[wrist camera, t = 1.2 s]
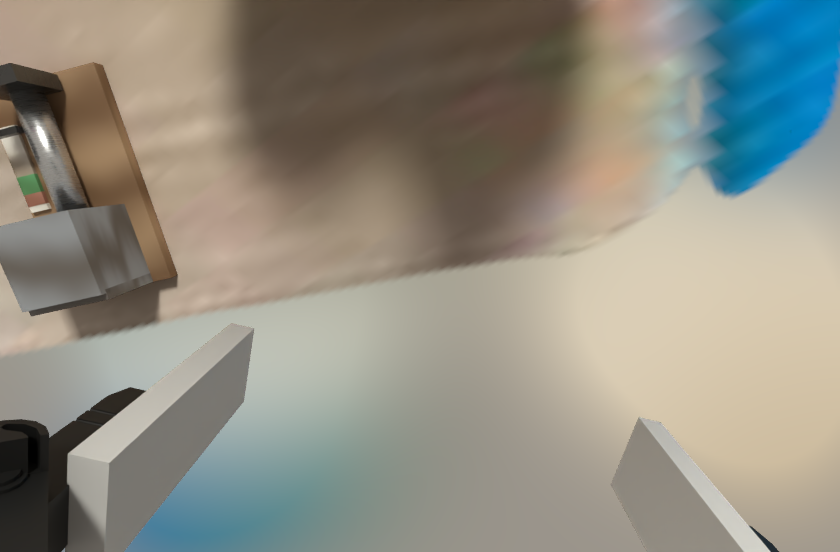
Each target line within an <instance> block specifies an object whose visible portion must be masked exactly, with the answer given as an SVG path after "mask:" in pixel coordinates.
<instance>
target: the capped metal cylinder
mask: <svg viewBox="0 0 840 552" xmlns="http://www.w3.org/2000/svg"><path fill="white" fill-rule="evenodd" d="M60 91H63V88H62V86H61V83H60V80H59V78H58V75H56V74H52V73H48V72H44V71H40V70H36V69H32V68H28V67H24V66H20V65H16V64H13V63H8V64H5V65H1V66H0V100H6V101H12V103H13V106H14V108H15V111H16V113H17V116H18V118H19V120H20V123H21V125H22V126H12V127H8V128H4V129H0V139H3V138H7V137H11V136H15V135H19V134H23V133H25V135H26V138H27V140H28V143H29V145H30V147H31V150H32V152H33V155H34V157H35V160H36V162H37V165H38V167H39V170H40V172H41V174H42V177H43V179H44V182H45V184H46V187H47V189H48V192H49V194H50V197H51V199H52V201H53V204H54V206H55V209H56V211H57V212H61V211H66V210H72V209H82V208H90V207H89V205H88V202H87V199H86V197H85V194H84V192H83V189H82V187H81V184H80V181H79V179H78V176H77V174H76V171H75V169H74V166H73V163H72V161H71V158H70V156H69V153H68V151H67V148H66V146H65V143H64V140H63V138H62V135H61V133H60V130H59V128H58V125H57V122H56V120H55V117H54V115H53V112H52V110H51V107H50V105H49V102H48V99H47V97H46V95H48V94H52V93H56V92H60Z"/></svg>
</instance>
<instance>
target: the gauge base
mask: <svg viewBox="0 0 840 552" xmlns="http://www.w3.org/2000/svg"><path fill="white" fill-rule="evenodd" d="M52 74H56V75H58V78H59V80H60V83H61V86H62V88H63V91H60V92H56V93H52V94H48V95H46V97H47V99H48V102H49V105H50V107H51V110H52V112H53V115H54V117H55V120H56V122H57V125H58V128H59V130H60V133H61V135H62V138H63V140H64V143H65V146H66V148H67V151H68V153H69V156H70V158H71V161H72V163H73V166H74V169H75V171H76V174H77V176H78V179H79V181H80V184H81V187H82V189H83V192H84V194H85V197H86V199H87V202H88V205H89V207H90V208H82V209H72V210H66V211H61V212H57V211H56V209H55V206H54V204H53V201H52V199H51V197H50V194H49V192H48V189H47V187H46V184H45V182H44V179H43V177H42V174H41V172H40V170H39V167H38V165H37V162H36V160H35V157H34V155H33V152H32V150H31V147H30V145H29V143H28V140H27V138H26V135H25V133H23V134H19V135H15V136H11V137H7V138H3V139H1V142H2V144H3V147H4V149H5V151H6V154H7V156H8V158H9V161H10V163H11V166H12V168H13V170H14V173H15V175H16V177H17V180H18V183H19V185H20V187H21V190H22V192H23V195H24V197H25V199H26V202H27V204H28V206H29V208H30V211H31V213H32V215H33V218H32V219H28V220H24V221H20V222H15V223H11V224H7V225H3V226H0V263H1V265H2V268H3V270H4V272H5V274H6V277H7V279H8V281H9V283H10V285H11V288H12V290H13V292H14V294H15V297H16V299H17V301H18V303H19V306H20V308H21V310H22V312H27V311H29V313H30V315H31V316H35V315H40V314H44V313H49V312H53V311H58V310H62V309H67V308H71V307H76V306H81V305H85V304H90V303H94V302H99V301H103V300H108V299H111V298H113V297H116V296H118V295H121V294H123V293H126V292H129V291H131V290H134V289H136V288H139V287H141V286H144V285H146V284H149V283H151V282H154V281H159V280H163V279H168V278H172V277H174V276H177V272H176V269H175V267H174V264H173V261H172V258H171V255H170V253H169V250H168V247H167V244H166V241H165V239H164V236H163V233H162V230H161V227H160V225H159V222H158V219H157V216H156V213H155V211H154V208H153V205H152V202H151V200H150V197H149V194H148V191H147V188H146V186H145V183H144V180H143V177H142V174H141V172H140V169H139V166H138V163H137V160H136V158H135V155H134V152H133V149H132V146H131V144H130V141H129V138H128V135H127V132H126V130H125V127H124V124H123V121H122V118H121V116H120V113H119V110H118V107H117V104H116V102H115V99H114V96H113V93H112V91H111V88H110V85H109V82H108V79H107V77H106V74H105V71H104V68H103V65H100V64H97V63H94V62H93V63H89V64H85V65H82V66H78V67H74V68H71V69H67V70H63V71H59V72H56V73H52ZM12 126H22V125H21V123H20V120H19V118H18V116H17V113H16V111H15V108H14V106H13V103H12V101H6V100H0V129H4V128H8V127H12Z"/></svg>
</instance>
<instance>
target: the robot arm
mask: <svg viewBox="0 0 840 552" xmlns="http://www.w3.org/2000/svg"><path fill="white" fill-rule="evenodd" d="M253 333H254V328H250V327H245V326H241V325H237V324H232V323H231V324H230V325H229V326H227V327H226V328H225V329H223V330H222V331H221V332H220V333H218V334H217V335H216V336H215V337H213V338H212V339H211V340H210V341H208V342H207V343H206V344H205V345H203V346H202V347H201V348H200V349H198V350H197V351H196V352H195V353H193V354H192V355H191V356H190V357H188V358H187V359H186V360H185V361H183V362H182V363H181V364H180V365H178V366H177V367H176V368H175V369H173V370H172V371H171V372H170V373H168V374H167V375H166V376H165V377H163V378H162V379H161V380H160V381H158V382H157V383H156V384H155V385H153V386H152V387H151V388H150V389H148V390H147V391H144V390H140V389H135V388H131V387H130V388H127V389H124V390H122V391H119V392H117V393H114V394H111V395H109V396H107V397H106V398H104V399H103V400H101V401H100V402H99V403H97V404H96V405H94V406H93V407H92V408H91V409H90V411H86V412H85V413H84V414H82V415H80V416H79V417H78V418H77V420H76V421H72V422H71V423H70V424H68V425H67V426H65V427H64V428H62V429H61V430H60V431H58V432H57V433H56V434H54V435H53V436H51V437H50V438H49V433H48V430H47V428H46V427H45V426H44V425H42V424H40V423H38V422H36V421H29V420H22V419H20V420H4V421H0V552H61V551H62V550H63V549H64V548H65V552H124V551H125V550H126V548H127V547H128V546H129V545H130V543H131V542H132V541H133V539H134V538H135V537H136V536H137V534H138V533H139V532H140V531H141V529H142V528H143V527H144V526H145V524H146V523H147V522H148V521H149V519H150V518H151V517H152V516H153V514H154V513H155V512H156V511H157V509H158V508H159V507H160V506H161V504H162V503H163V502H164V501H165V499H166V498H167V497H168V496H169V494H170V493H171V492H172V491H173V489H174V488H175V487H176V486H177V484H178V483H179V482H180V481H181V479H182V478H183V477H184V476H185V474H186V473H187V472H188V471H189V469H190V468H191V467H192V465H193V464H194V463H195V462H196V461H197V459H198V458H199V457H200V455H201V454H202V453H203V452H204V450H205V449H206V448H207V447H208V445H209V444H210V443H211V442H212V440H213V439H214V438H215V437H216V435H217V434H218V433H219V432H220V430H221V429H222V428H223V427H224V425H225V424H226V423H227V422H228V420H229V419H230V418H231V417H232V415H233V414H234V413H235V412H236V410H237V409H238V408H239V407H240V405H241V404H242V403H243V401H244V396H245V389H246V382H247V375H248V368H249V361H250V354H251V347H252V339H253ZM611 486H612V487H613V489H614V491H615V493H616V495H617V497H618V499H619V501H620V502H621V504H622V506H623V508H624V510H625V512H626V514H627V515H628V517H629V519H630V521H631V523H632V525H633V527H634V529H635V531H636V532H637V534H638V536H639V538H640V540H641V542H642V544H643V545H644V547H645V549H646V551H647V552H779V551H778V550H777V549H776V548H775V547H774V545H773V544H772V543H770V542H769V541H768V540H767V539H766V538H764V537H763V536H762V535H761V534H760V533H758V532H757V531H756V530H755V529H754V528H752V527H751V526H748V525H747V523H746V522H745V521H744V520H743V519H742V517H741V516H740V515H739V514H738V513H737V512H736V510H735V509H734V508H733V507H732V506H731V504H730V503H729V502H728V501H727V500H726V499H725V498H724V496H723V495H722V494H721V493H720V492H719V490H718V489H717V488H716V487H715V486H714V484H713V483H712V482H711V481H710V480H709V479H708V478H707V476H706V475H705V474H704V473H703V472H702V470H701V469H700V468H699V467H698V466H697V465H696V464H695V462H694V461H693V460H692V459H691V458H690V456H689V455H688V454H687V453H686V452H685V450H684V449H683V448H682V447H681V446H680V445H679V443H678V442H677V441H676V440H675V439H674V437H673V436H672V435H671V434H670V433H669V432H668V430H667V429H666V428H665V427H664V426H663V425H662V423H661V422H657V421H653V420H649V419H644V418H640V417H639V418H638V420H637V422H636V425H635V427H634V430H633V432H632V435H631V437H630V439H629V442H628V444H627V447H626V449H625V452H624V454H623V457H622V459H621V461H620V464H619V466H618V469H617V471H616V473H615V476H614V478H613V481H612V483H611Z"/></svg>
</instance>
